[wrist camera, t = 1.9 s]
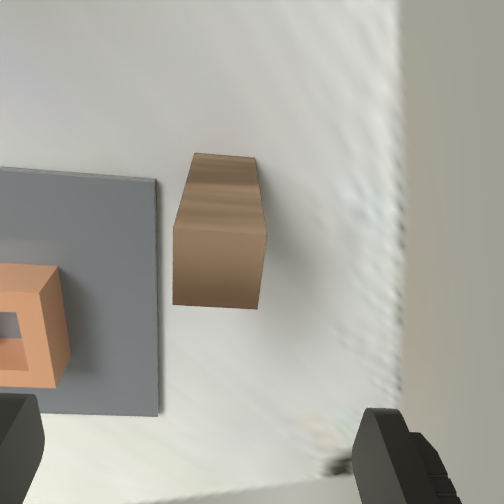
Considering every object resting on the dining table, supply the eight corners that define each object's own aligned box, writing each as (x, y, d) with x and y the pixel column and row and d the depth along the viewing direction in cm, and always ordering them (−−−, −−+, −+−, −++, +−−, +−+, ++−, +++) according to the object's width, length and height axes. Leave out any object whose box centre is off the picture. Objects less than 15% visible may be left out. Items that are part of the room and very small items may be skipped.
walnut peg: (194, 152, 24) (172, 227, 15) (254, 157, 24) (267, 234, 16) (192, 208, 26) (172, 304, 17) (248, 212, 26) (257, 309, 17)
